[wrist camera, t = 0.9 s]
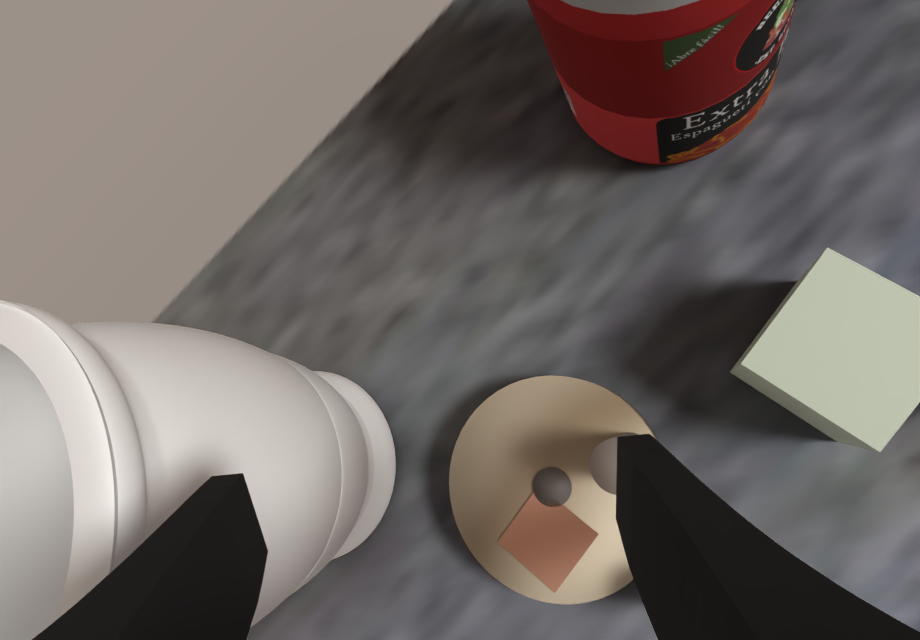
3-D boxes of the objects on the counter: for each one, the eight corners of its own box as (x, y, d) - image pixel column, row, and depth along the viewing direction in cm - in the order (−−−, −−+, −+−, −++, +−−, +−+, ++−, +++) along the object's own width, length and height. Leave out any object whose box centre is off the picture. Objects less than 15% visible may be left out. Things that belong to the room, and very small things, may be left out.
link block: (911, 345, 20) (978, 327, 16) (836, 441, 21) (880, 452, 16) (797, 281, 22) (827, 247, 17) (729, 372, 22) (740, 363, 17)
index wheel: (717, 465, 21) (727, 484, 16) (585, 639, 22) (555, 710, 17) (537, 337, 24) (497, 319, 19) (426, 495, 25) (359, 518, 20)
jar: (389, 318, 27) (74, 227, 13) (449, 556, 25) (141, 753, 11) (204, 387, 30) (-210, 372, 16) (241, 604, 28) (-206, 805, 14)
